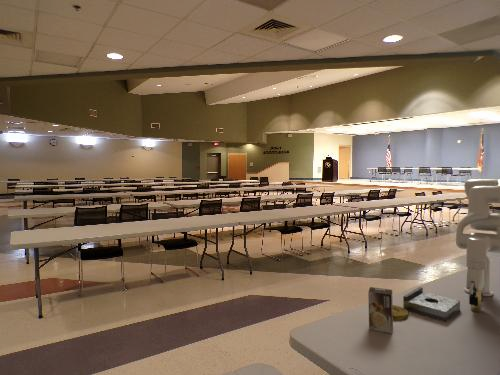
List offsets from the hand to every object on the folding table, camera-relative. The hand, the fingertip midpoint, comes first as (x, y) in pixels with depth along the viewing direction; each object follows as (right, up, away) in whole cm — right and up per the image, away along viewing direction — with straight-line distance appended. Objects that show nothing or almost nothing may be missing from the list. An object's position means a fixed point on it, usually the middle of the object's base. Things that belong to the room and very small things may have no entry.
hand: (475, 302), depth 153 cm
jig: (-20, -4, +2) cm, 20 cm away
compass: (-39, -5, -2) cm, 39 cm away
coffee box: (-50, -6, -15) cm, 53 cm away
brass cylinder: (0, -4, 0) cm, 4 cm away
